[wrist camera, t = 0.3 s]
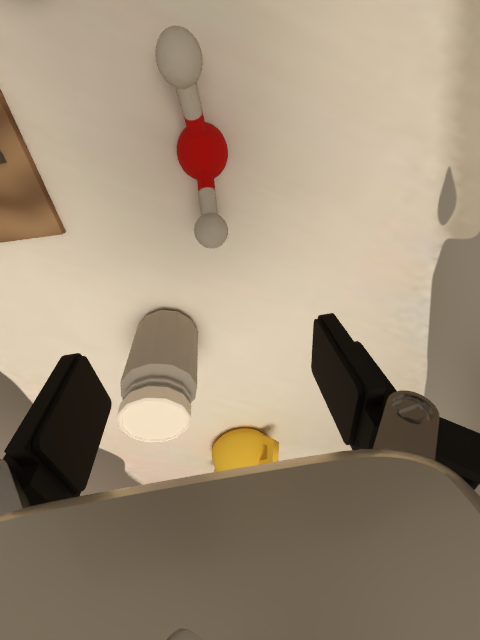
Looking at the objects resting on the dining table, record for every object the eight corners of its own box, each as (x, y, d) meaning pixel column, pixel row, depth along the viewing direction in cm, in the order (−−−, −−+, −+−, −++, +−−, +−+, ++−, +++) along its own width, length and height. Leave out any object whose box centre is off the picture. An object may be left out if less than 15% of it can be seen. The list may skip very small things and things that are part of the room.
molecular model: (145, 60, 28) (123, 33, 20) (202, 43, 28) (202, 9, 20) (200, 229, 38) (200, 257, 30) (241, 218, 38) (253, 242, 30)
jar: (171, 294, 43) (156, 380, 29) (209, 334, 48) (213, 423, 34) (125, 326, 46) (89, 421, 31) (166, 360, 51) (152, 456, 36)
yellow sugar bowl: (242, 473, 77) (248, 519, 68) (191, 452, 68) (190, 501, 59) (299, 438, 70) (314, 483, 61) (250, 410, 62) (259, 458, 53)
